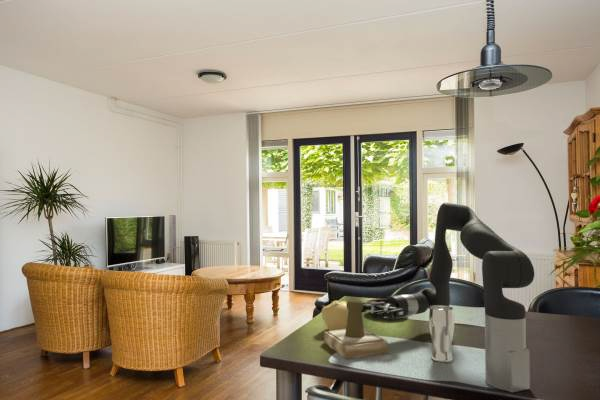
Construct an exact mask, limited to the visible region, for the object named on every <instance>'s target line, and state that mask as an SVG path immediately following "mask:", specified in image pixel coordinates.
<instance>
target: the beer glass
mask: <svg viewBox="0 0 600 400" xmlns="http://www.w3.org/2000/svg"><path fill="white" fill-rule="evenodd" d="M428 321H429V322H428V323H429V332H430V338H431V343H432V344H431V345H432V348H431V352H430V353H431V355H430V359H431V358H432V359H433V360H432V359H431V360H432V361H434V360H435V361H434V362H437V361H438V363H443V362H448V363H451V361H452V362H453V360H454V358H453V352H452V345H453V343H452V342H453V339H454V333H455V332H454V331H455V314H454V307H452V306H450V305H449V306H445V305H432V306H430V309H429V316H428Z"/></svg>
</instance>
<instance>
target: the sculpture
mask: <svg viewBox="0 0 600 400" xmlns="http://www.w3.org/2000/svg"><path fill="white" fill-rule="evenodd" d="M347 317H348V309H347V300H343V301H342V300H333V301H331V303H330V304H328V305H326V306H323V307H322V308H321V318H322V319H321V320H323V321H324V324H325V326H326V328H327V329H328V331H333V330H341V329H346V325H347Z"/></svg>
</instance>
